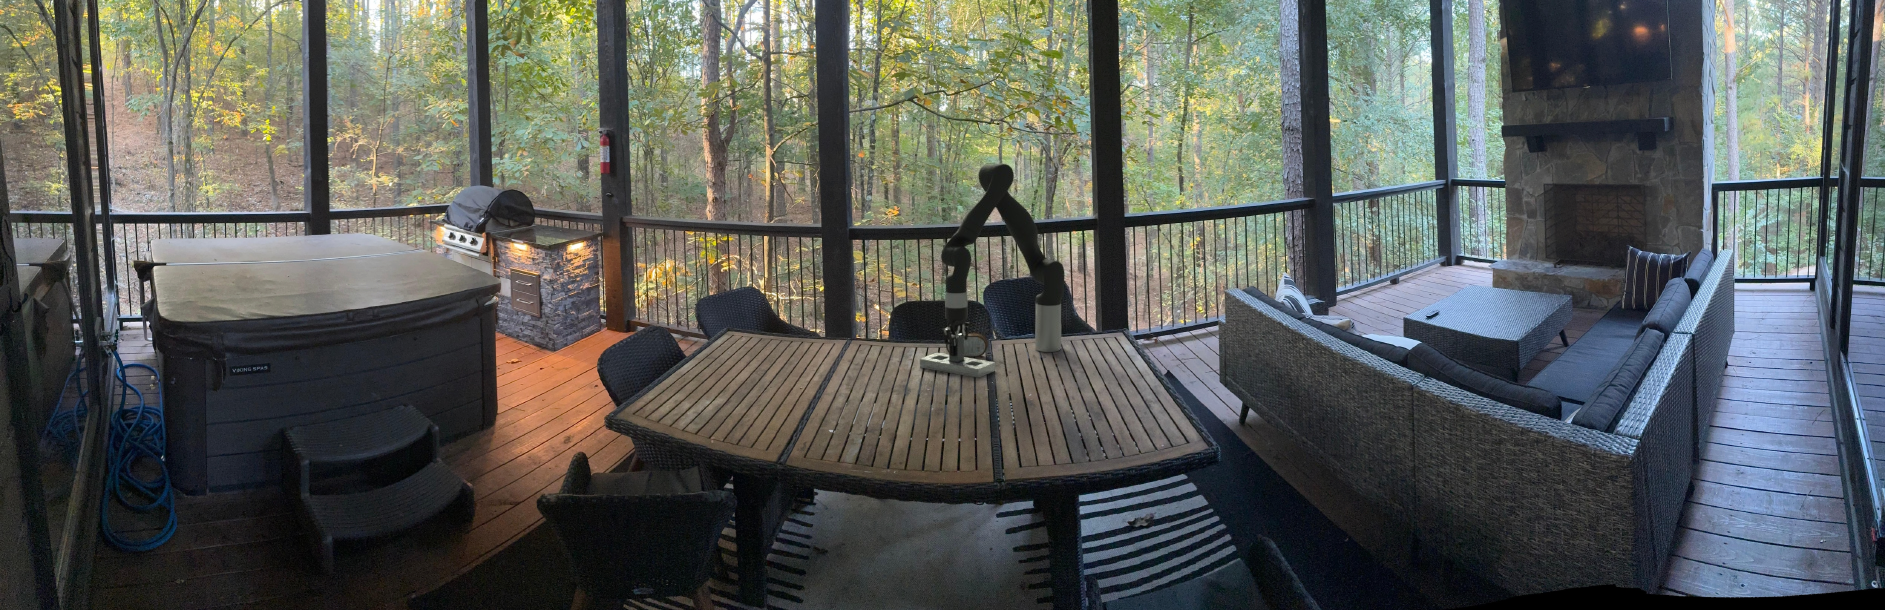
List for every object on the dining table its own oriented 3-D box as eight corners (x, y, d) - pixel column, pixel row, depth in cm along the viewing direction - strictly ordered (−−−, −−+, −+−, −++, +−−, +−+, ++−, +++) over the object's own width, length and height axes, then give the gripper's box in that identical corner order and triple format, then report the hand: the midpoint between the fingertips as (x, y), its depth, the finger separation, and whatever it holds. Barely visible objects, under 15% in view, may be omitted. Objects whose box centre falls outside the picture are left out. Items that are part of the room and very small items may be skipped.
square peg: (955, 359, 310) (955, 333, 308) (963, 360, 308) (963, 335, 306) (949, 361, 307) (949, 335, 305) (958, 363, 305) (957, 337, 303)
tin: (987, 355, 326) (987, 332, 324) (987, 357, 322) (987, 334, 321) (946, 355, 327) (945, 332, 325) (945, 357, 324) (945, 334, 322)
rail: (936, 360, 319) (936, 352, 318) (994, 370, 305) (994, 362, 305) (920, 367, 311) (919, 358, 311) (978, 377, 297) (978, 369, 297)
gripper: (953, 309, 296) (953, 360, 299) (977, 302, 307) (977, 351, 311) (934, 307, 300) (935, 357, 304) (959, 300, 312) (959, 348, 315)
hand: (956, 354), depth 307 cm, fingers closed on square peg, 3 cm apart
